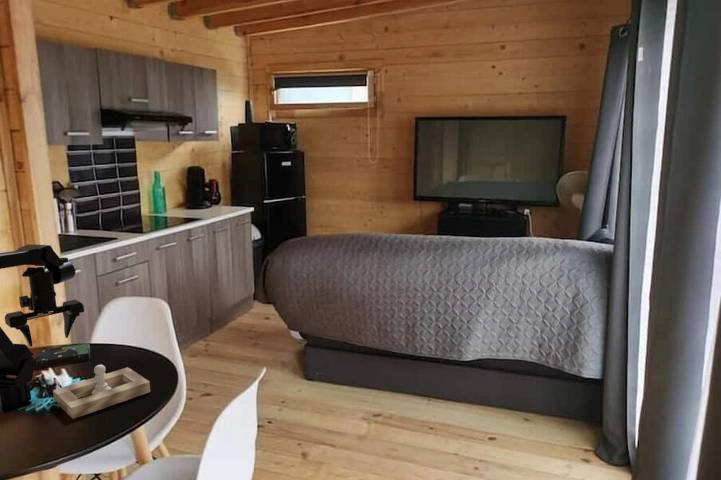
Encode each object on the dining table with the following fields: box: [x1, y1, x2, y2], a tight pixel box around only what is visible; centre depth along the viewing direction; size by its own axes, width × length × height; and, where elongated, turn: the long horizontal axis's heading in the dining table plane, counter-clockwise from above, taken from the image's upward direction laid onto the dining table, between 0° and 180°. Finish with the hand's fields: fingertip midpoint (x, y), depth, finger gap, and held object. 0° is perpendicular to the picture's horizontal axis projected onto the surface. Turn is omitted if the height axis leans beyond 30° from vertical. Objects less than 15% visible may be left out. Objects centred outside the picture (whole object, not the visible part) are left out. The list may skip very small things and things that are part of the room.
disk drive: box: [35, 342, 91, 369], centre depth 174 cm, size 10×3×15 cm
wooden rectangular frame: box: [52, 366, 151, 420], centre depth 147 cm, size 20×14×3 cm
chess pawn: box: [91, 364, 113, 395], centre depth 147 cm, size 5×5×9 cm
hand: (49, 341), depth 155 cm, fingers open, 9 cm apart
